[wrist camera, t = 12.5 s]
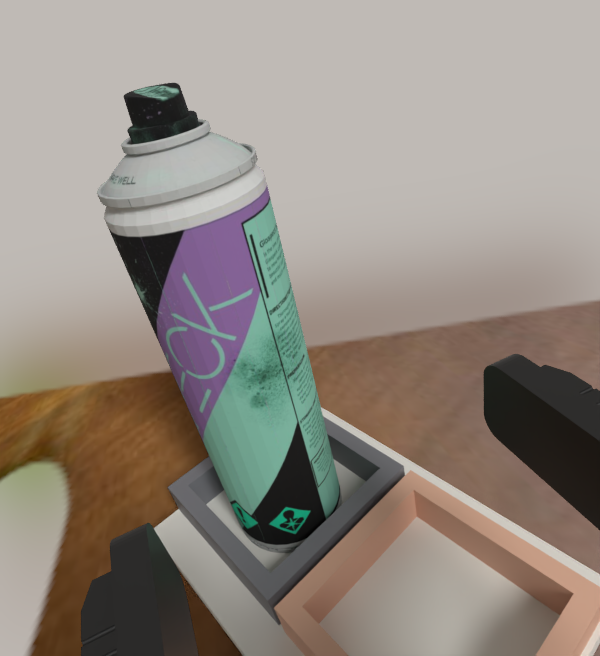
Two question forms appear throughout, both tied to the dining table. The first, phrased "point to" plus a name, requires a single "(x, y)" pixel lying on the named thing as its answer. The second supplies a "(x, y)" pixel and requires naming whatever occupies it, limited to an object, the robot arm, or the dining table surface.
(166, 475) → the dining table surface
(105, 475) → the dining table surface
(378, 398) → the dining table surface
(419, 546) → the board
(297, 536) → the spray can
